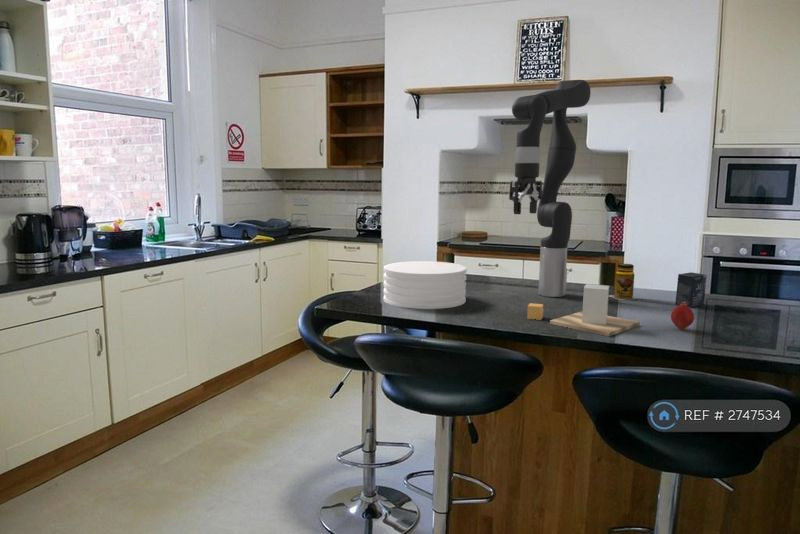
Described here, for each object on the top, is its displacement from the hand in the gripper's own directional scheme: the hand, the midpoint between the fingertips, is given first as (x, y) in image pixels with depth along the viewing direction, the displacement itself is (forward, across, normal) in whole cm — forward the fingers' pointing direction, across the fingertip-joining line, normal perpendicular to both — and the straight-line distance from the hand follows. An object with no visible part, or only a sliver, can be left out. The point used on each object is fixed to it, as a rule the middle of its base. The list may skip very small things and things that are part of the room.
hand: (525, 213), depth 185 cm
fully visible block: (+30, -10, -12) cm, 34 cm away
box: (+30, +44, -36) cm, 64 cm away
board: (+30, -4, -28) cm, 41 cm away
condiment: (+30, +39, -15) cm, 52 cm away
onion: (+30, +9, -47) cm, 57 cm away
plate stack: (+30, -16, +28) cm, 45 cm away
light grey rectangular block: (+29, -4, -28) cm, 41 cm away
